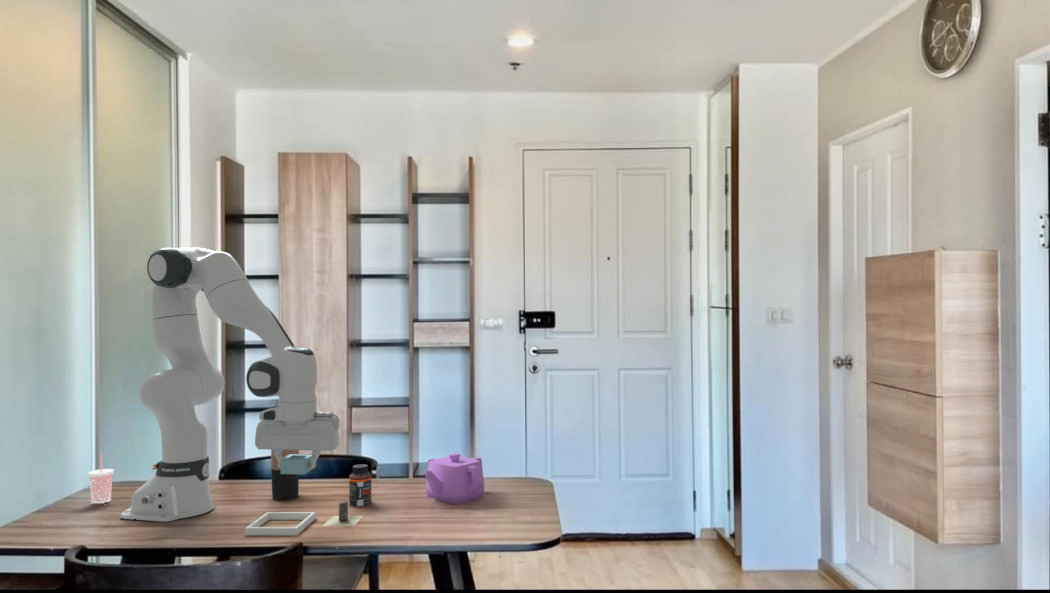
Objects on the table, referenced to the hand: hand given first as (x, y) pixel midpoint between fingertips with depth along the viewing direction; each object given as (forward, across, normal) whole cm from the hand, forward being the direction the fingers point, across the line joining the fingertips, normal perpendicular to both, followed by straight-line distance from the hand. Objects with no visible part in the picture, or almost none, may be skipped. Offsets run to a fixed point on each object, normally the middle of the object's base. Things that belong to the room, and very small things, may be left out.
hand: (296, 467), depth 168 cm
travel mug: (+16, +14, -28) cm, 35 cm away
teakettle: (+14, -36, -27) cm, 47 cm away
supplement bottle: (+15, -11, -18) cm, 26 cm away
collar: (+1, 0, 0) cm, 1 cm away
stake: (+15, -11, -3) cm, 19 cm away
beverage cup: (+17, +64, -22) cm, 70 cm away
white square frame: (+15, +3, +2) cm, 15 cm away
